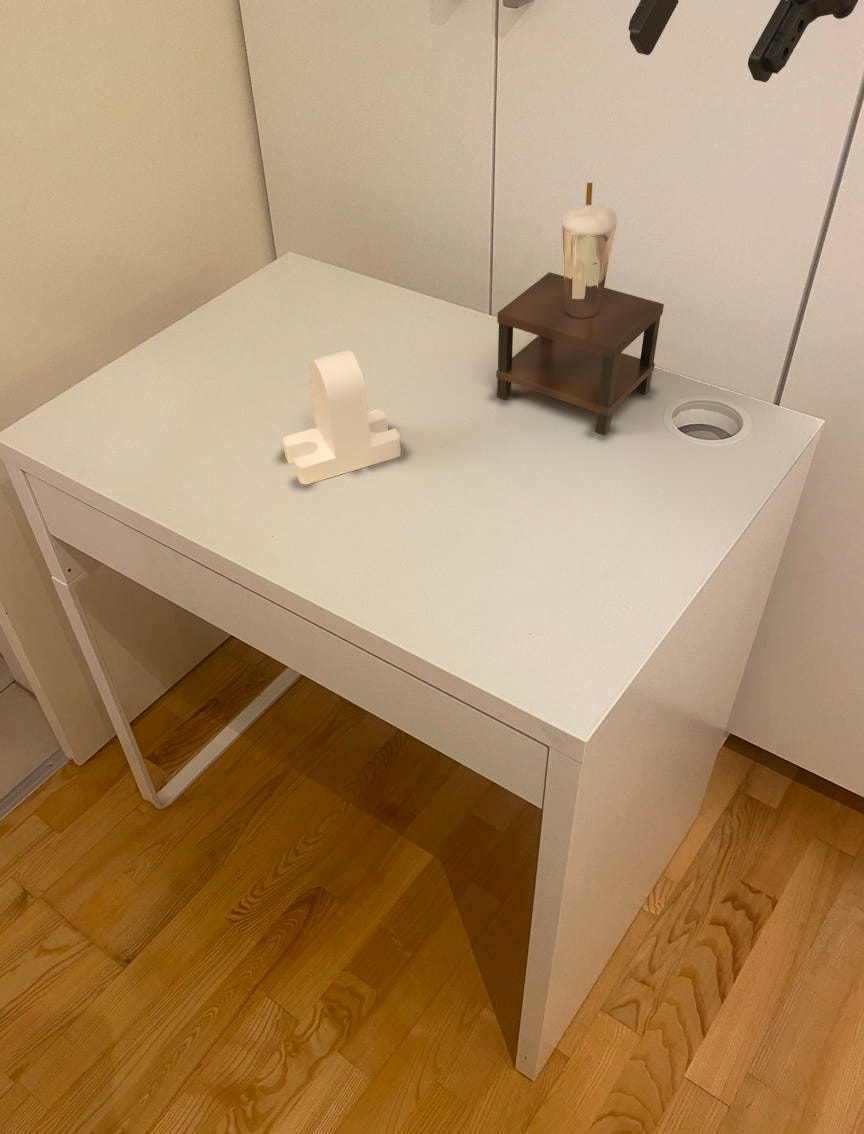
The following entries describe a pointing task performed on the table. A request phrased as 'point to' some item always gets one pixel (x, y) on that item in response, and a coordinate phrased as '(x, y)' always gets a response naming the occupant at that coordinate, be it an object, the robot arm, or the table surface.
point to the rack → (578, 348)
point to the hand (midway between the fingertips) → (695, 60)
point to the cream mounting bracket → (340, 424)
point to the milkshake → (586, 256)
